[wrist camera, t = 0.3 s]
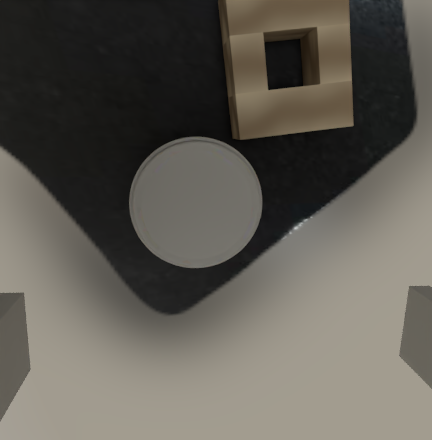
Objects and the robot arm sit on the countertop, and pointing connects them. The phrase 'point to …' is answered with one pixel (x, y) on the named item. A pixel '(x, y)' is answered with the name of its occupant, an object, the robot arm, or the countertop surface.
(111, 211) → the countertop surface
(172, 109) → the countertop surface
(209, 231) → the coffee cup
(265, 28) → the hole block
